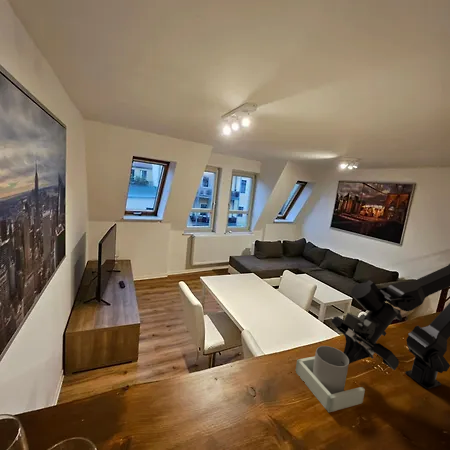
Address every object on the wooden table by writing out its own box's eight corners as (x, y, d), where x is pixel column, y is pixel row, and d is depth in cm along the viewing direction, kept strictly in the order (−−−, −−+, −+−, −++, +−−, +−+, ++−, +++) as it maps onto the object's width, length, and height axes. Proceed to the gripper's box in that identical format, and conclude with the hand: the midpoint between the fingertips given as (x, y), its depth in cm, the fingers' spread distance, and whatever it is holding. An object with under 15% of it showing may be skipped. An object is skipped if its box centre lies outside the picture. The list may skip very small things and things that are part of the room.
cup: (319, 401, 65) (325, 366, 63) (306, 376, 73) (310, 345, 71) (349, 400, 66) (356, 366, 64) (333, 376, 74) (338, 346, 72)
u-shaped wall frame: (324, 365, 78) (326, 354, 77) (362, 403, 65) (364, 389, 64) (295, 371, 74) (297, 359, 74) (328, 412, 61) (331, 398, 61)
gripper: (338, 291, 77) (306, 330, 75) (396, 322, 60) (356, 373, 58) (355, 311, 81) (325, 348, 79) (414, 345, 64) (378, 394, 62)
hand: (342, 363), depth 69 cm, fingers closed, pressing on cup
